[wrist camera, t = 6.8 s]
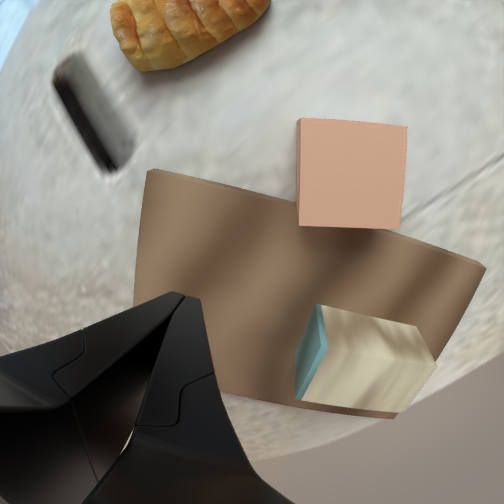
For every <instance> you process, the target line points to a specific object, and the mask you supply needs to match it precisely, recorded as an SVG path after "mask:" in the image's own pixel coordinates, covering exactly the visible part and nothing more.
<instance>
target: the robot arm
mask: <svg viewBox="0 0 504 504" xmlns="http://www.w3.org/2000/svg"><path fill="white" fill-rule="evenodd" d="M134 426H135V427H134ZM133 428H134V430H133ZM132 430H133V433H132V435H131V438H130V440H129V443H128V445H127V446H126V448H125V449H124V450H123V448H124V446H125V444H126V442H127V440H128V438H129V436H130V434H131V432H132ZM122 450H123V452H122ZM121 452H122V453H121ZM0 504H295V503H293V502H292V501H290V500H289V499H288V498H286V497H285V496H283V495H282V494H281V493H279V492H278V491H277V490H275V489H274V488H273V487H271V486H270V485H269V484H267V483H266V482H265V481H264V480H262V479H261V477H260V476H259V475H258V474H257V473H256V472H255V470H254V469H253V467H252V466H251V464H250V462H249V460H248V458H247V456H246V454H245V452H244V450H243V448H242V446H241V443H240V441H239V439H238V437H237V435H236V433H235V430H234V428H233V426H232V424H231V421H230V419H229V417H228V414H227V412H226V409H225V406H224V404H223V401H222V398H221V394H220V391H219V387H218V383H217V378H216V375H215V370H214V365H213V360H212V356H211V351H210V346H209V341H208V336H207V331H206V326H205V321H204V315H203V310H202V305H201V300H200V299H199V298H196V297H192V296H189V295H187V296H186V297H185V295H184V294H182V293H178V292H175V291H170V292H168V293H165V294H163V295H161V296H158V297H156V298H154V299H151V300H149V301H147V302H144V303H142V304H140V305H137V306H135V307H133V308H130V309H128V310H125V311H123V312H121V313H118V314H116V315H114V316H111V317H109V318H107V319H104V320H102V321H100V322H97V323H95V324H92V325H90V326H88V327H85V328H83V330H82V329H80V330H78V331H76V332H73V333H71V334H68V335H66V336H63V337H61V338H58V339H56V340H53V341H50V342H47V343H44V344H41V345H38V346H34V347H31V348H28V349H24V350H21V351H18V352H14V353H11V354H7V355H4V356H0Z"/></svg>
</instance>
